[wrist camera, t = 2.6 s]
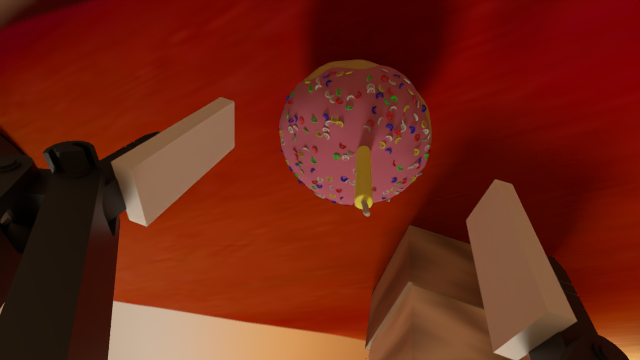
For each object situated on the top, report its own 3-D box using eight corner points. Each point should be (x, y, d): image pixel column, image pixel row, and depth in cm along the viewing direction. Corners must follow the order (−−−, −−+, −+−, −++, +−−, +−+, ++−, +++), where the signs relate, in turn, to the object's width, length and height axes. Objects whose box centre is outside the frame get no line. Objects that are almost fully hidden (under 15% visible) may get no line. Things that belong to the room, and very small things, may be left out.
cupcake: (384, 12, 16) (345, 55, 7) (452, 129, 19) (495, 281, 9) (280, 96, 21) (168, 194, 11) (348, 181, 23) (304, 320, 14)
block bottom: (372, 292, 31) (365, 348, 26) (409, 222, 24) (409, 281, 20) (473, 327, 30) (485, 393, 25) (541, 264, 23) (574, 337, 19)
